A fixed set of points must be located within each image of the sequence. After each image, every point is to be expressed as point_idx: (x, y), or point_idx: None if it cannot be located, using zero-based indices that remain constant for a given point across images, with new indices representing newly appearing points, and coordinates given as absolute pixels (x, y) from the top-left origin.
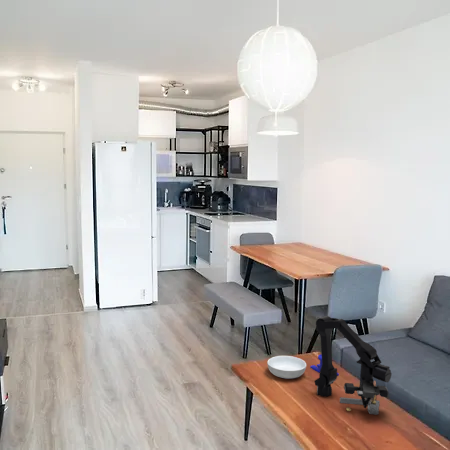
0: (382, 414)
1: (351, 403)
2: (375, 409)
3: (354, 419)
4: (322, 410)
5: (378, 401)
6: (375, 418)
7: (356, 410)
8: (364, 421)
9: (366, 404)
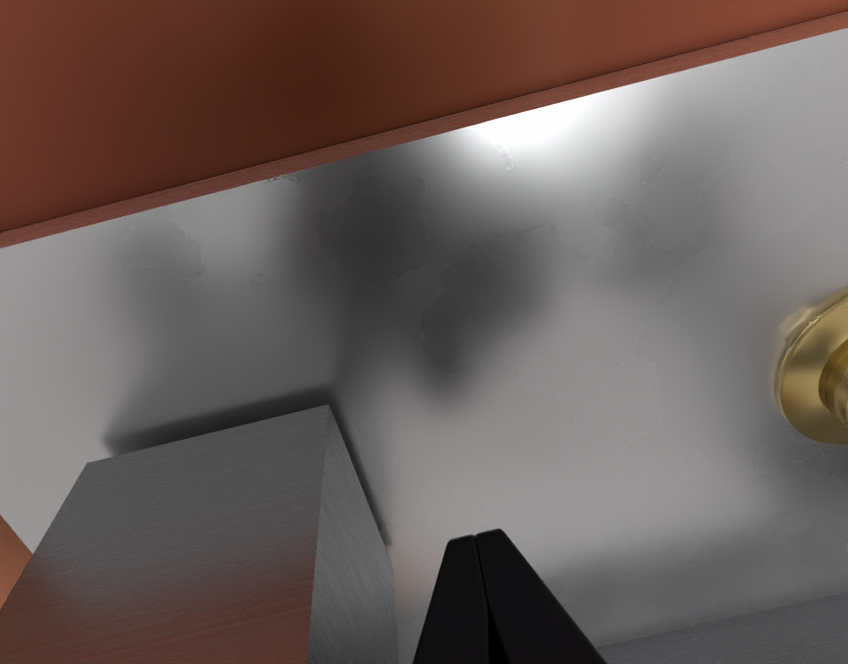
0: None
1: (742, 635)
2: (119, 564)
3: (731, 28)
4: None
5: None
6: None
7: None
8: (428, 32)
9: (450, 658)
